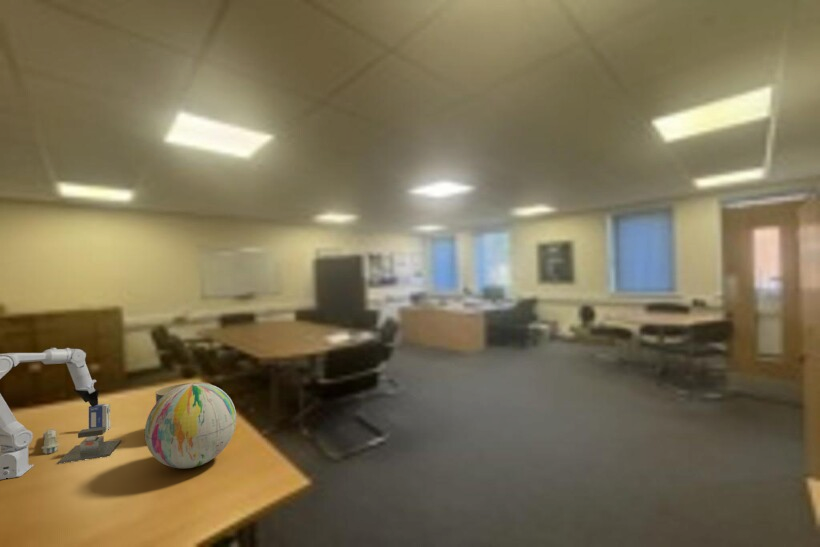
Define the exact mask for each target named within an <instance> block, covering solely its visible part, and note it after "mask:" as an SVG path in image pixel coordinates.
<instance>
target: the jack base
mask: <svg viewBox="0 0 820 547" xmlns="http://www.w3.org/2000/svg"><path fill="white" fill-rule="evenodd" d="M104 438H105V437H104V435H98V439H97V440H96V441H89V442H86V438H84V439H83V440H82V441H81V442H80V443H79V444H78V445H74V447H73V448H71V449H70V450H69V451H68V452H67V453H66V454H65V455H64V456H62V457H61V459H59V460H58V465H60V464H59V463H62V464H65V463H64V462H69V463H72V462H71V461H75V462H79V461H78V460H82V461H86V460H85V459H89V460H93V459H92V458H95V459H101V458H100V457H102V458H107V456H109V457H111V456H112V454H113V453H114V452H115V450H116V449H117V448H118V447H119V446H120V444H121V443H122V442H123V440H122V438H121V439H114V440H107V441H106V440H105V441H104ZM117 446H118V447H117ZM112 452H113V453H112Z"/></svg>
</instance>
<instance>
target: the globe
mask: <svg viewBox="0 0 820 547" xmlns="http://www.w3.org/2000/svg"><path fill="white" fill-rule="evenodd" d="M189 383H190V384H186V385H182V386H180V387H177V388H175V389H173V390H171V391H170V392H168V393H167V394H165V395H164V396H163V397H162V398H161V399H160V400H159V401H158V402H157V403H156V402H155V404H154V406H153V407H152V409H151V410H150V412H149V413H148V416H147V419H146V421H145V422H146V423H145V428H144V439H145V443H146V445H147V450H148V451H149V453H150V454H151V455H152V457H153V458H154V459H156V460H157V461H158V462H159V463H161V464H163V465H165V466H167V467H170V468H174V469H192V468H196V467H200V466H203V465H205V464H206V463H208V462H210V461H212V460H214V459H215V458H216V457H217V456H218V455H220V454H221V453H222V451H224V450H225V448H227V446H228V444H230V442H231V439H232V437H233V435H234V432H235V430H236V427H237V426H236V425H237V412H236V411H237V410H236V408H235V405H234V403H233V400H232V399H231V397H230V396H229V395H228V393H226V392H225V391H224V390H223V389H221V388H220V387H218V386H216V385H213V384H211V383H209V384H207V383H208V382H202V383H196V382H189Z"/></svg>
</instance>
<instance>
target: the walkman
mask: <svg viewBox="0 0 820 547" xmlns="http://www.w3.org/2000/svg"><path fill="white" fill-rule="evenodd" d="M99 427H106V430H107V431H109V430H110V429H111V403H107V404H105V403H104V404H103V403H101V404H98V405H96V406H94V407H92V406H91V405H90V406H88V429H91V428H99ZM108 429H109V430H108Z"/></svg>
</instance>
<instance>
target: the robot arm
mask: <svg viewBox="0 0 820 547" xmlns="http://www.w3.org/2000/svg"><path fill="white" fill-rule="evenodd" d="M86 357H87V352H85V351H84V350H82V349H80V348H70V347H65V348H57V347H50V349H49V348H48V349H45V350H43V351H42V352H7V353H0V380H1V379H2V378H3V377H4V376H6V374H7V373H9V371H11V370H12V368H13V367H15V368H16V366H18V365H19V364H20V363H32V362H41V363H43V365H56V364H57V365H58V364H59V365H60V364H66V366H67V370H68V372H69V374H70V376H71V379H72V381H73V384H74V386H75V388H74V389H73V390H74V392H76V393H77V394H78V395H79V396H80V397H81V399H82V400H83V402H85V403H89V405H90V406H92V407H94V406H96V405H99V392H100V388H94V385H95V383H97V380H96V379H92V377H91V374H90V371H89V368H88V365H87V364H86ZM33 438H34V434H33V432H32V431H31V430H29V429H27V428H26V427H25V426H24V425H23V424H22V423H20V422H19V421H18V420H17V418H16V417H15V416H14V413H13V412H12V410H11V408H10V407H9V405H8V404H7V402H6V401H5V399H4V397H3V396H2V394H1V393H0V480H7V479H6V478H8V479H12V478H19V477H22V476H23V475H24V474H25V473H27V471H29V470H30V469H32V468H33V467H34V466H35V465H34V464H29V444H31V442H32V441H33Z"/></svg>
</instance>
